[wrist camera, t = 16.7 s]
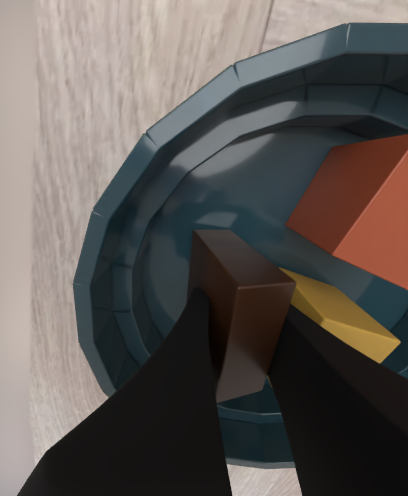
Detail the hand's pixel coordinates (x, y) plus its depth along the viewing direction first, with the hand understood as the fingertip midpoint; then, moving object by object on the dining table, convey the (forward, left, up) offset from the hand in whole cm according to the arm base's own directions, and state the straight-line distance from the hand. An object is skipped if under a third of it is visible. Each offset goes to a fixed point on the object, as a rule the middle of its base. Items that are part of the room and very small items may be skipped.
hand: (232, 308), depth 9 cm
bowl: (+3, +1, -3) cm, 5 cm away
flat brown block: (-1, 0, -2) cm, 3 cm away
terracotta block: (+3, +6, -2) cm, 7 cm away
